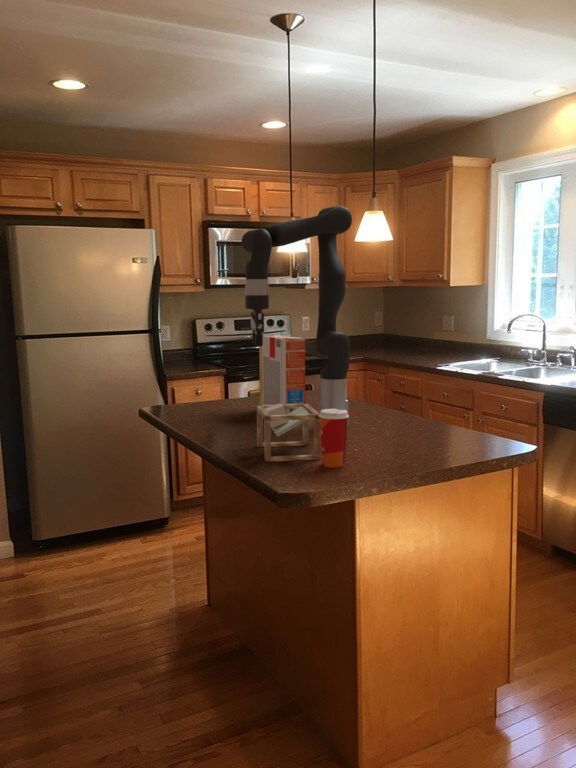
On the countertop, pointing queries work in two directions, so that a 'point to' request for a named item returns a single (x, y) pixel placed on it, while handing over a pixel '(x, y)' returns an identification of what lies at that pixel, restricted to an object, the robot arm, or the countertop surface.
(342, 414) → the coffee cup
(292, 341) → the cereal box
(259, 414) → the frame
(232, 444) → the countertop surface
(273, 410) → the white cube
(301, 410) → the trapdoor
